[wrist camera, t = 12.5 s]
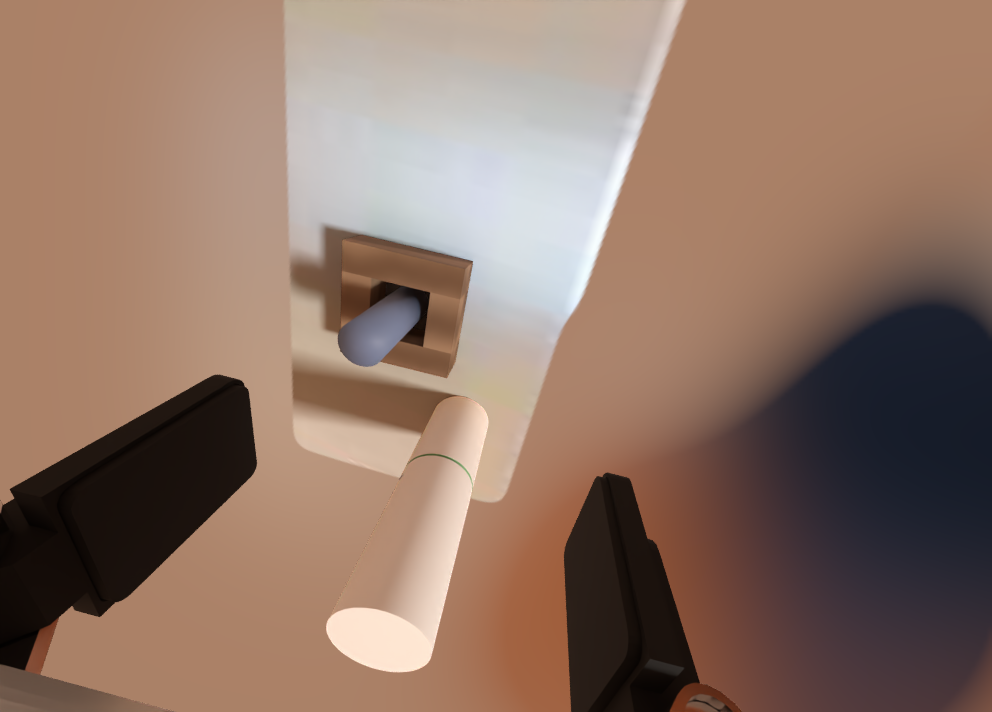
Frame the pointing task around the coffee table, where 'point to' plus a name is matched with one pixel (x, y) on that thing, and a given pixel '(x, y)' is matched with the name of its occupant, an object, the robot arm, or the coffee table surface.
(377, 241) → the socket block
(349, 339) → the peg
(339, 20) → the coffee table surface
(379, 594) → the cylindrical container
